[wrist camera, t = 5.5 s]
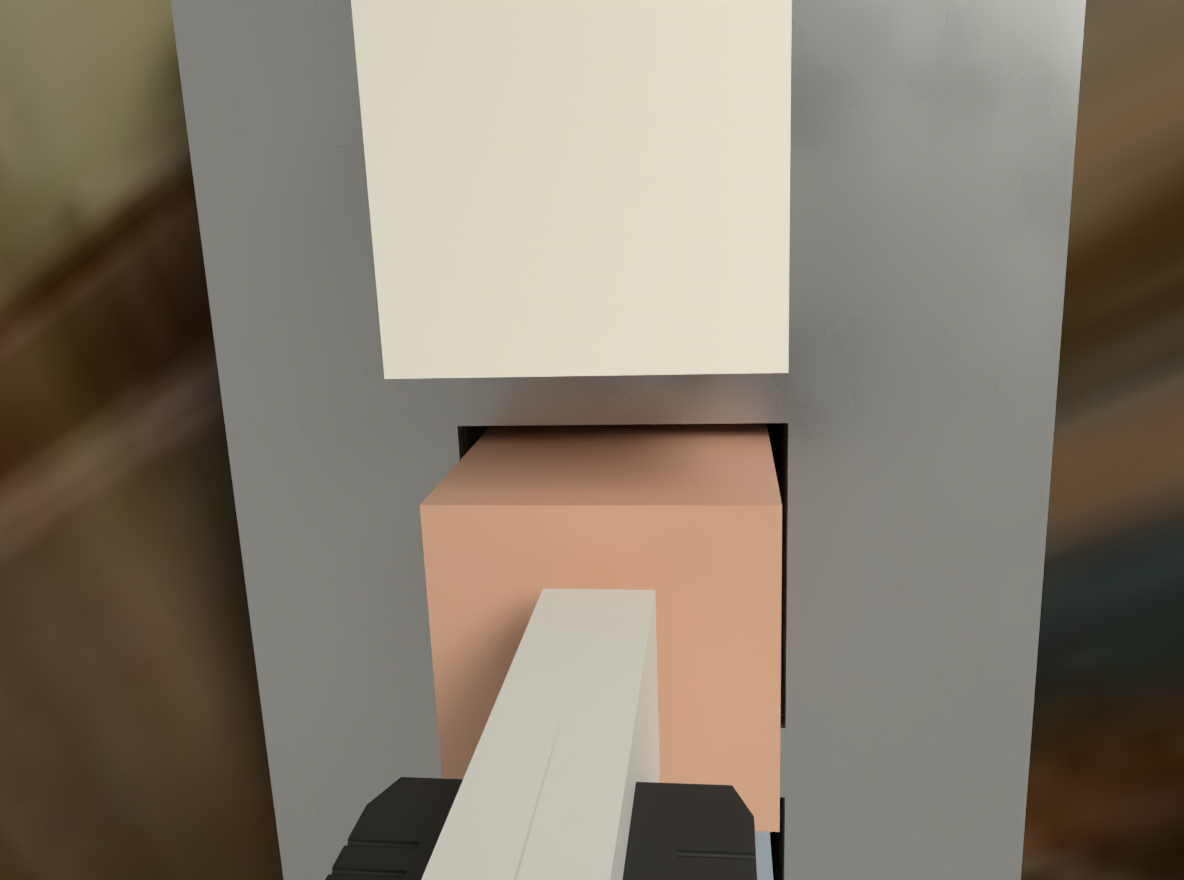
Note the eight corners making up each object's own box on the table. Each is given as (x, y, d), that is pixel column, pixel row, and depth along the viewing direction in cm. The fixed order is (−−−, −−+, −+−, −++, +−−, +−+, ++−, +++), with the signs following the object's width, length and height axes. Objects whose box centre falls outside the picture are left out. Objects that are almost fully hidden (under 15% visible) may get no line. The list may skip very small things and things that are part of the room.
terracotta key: (493, 422, 19) (419, 505, 15) (765, 419, 19) (782, 504, 14) (509, 667, 21) (445, 819, 16) (764, 672, 20) (779, 832, 15)
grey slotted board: (244, -41, 19) (160, -79, 16) (1034, -95, 17) (1097, -147, 15) (355, 962, 25) (307, 1067, 22) (966, 997, 23) (1002, 1116, 20)
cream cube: (454, 11, 17) (346, -53, 12) (770, -7, 16) (793, -84, 11) (474, 323, 18) (384, 378, 13) (768, 316, 17) (789, 373, 12)
